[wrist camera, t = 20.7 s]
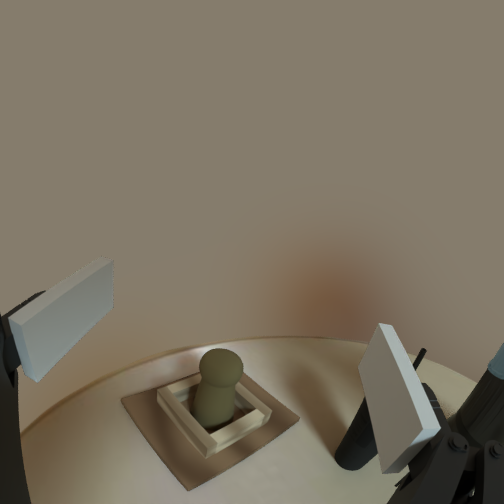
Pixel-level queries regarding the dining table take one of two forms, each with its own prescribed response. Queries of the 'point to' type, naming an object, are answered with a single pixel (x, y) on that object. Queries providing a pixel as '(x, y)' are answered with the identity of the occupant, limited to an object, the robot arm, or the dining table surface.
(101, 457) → the dining table surface
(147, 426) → the well board
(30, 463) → the dining table surface
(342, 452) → the drinking cup
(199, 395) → the olive green peg doll
